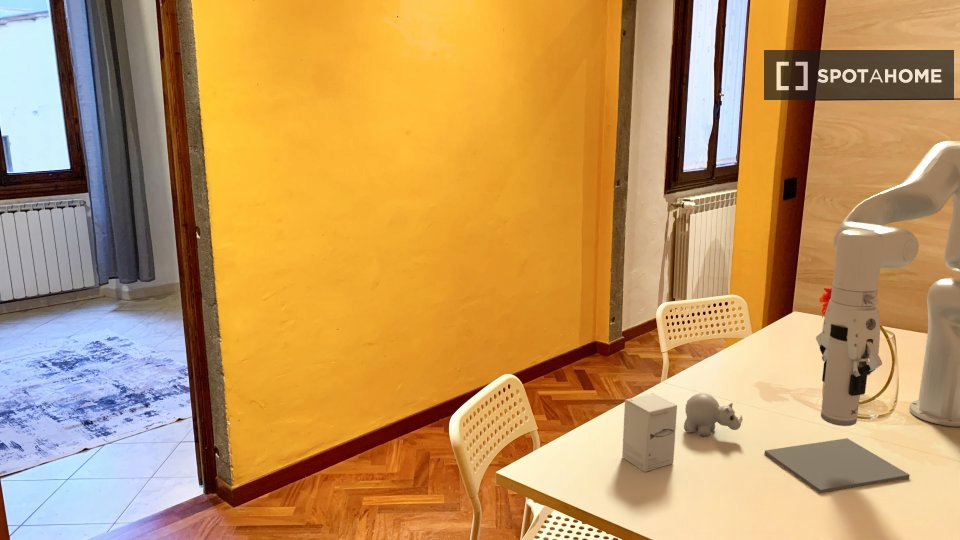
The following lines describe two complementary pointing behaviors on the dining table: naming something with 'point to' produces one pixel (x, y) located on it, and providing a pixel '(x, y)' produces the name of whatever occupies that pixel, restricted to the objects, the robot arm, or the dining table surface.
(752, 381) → the dining table surface
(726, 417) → the chubby cartoon animal
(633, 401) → the supplement box
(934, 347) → the robot arm
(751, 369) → the dining table surface
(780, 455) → the mat
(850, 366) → the travel mug
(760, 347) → the dining table surface
